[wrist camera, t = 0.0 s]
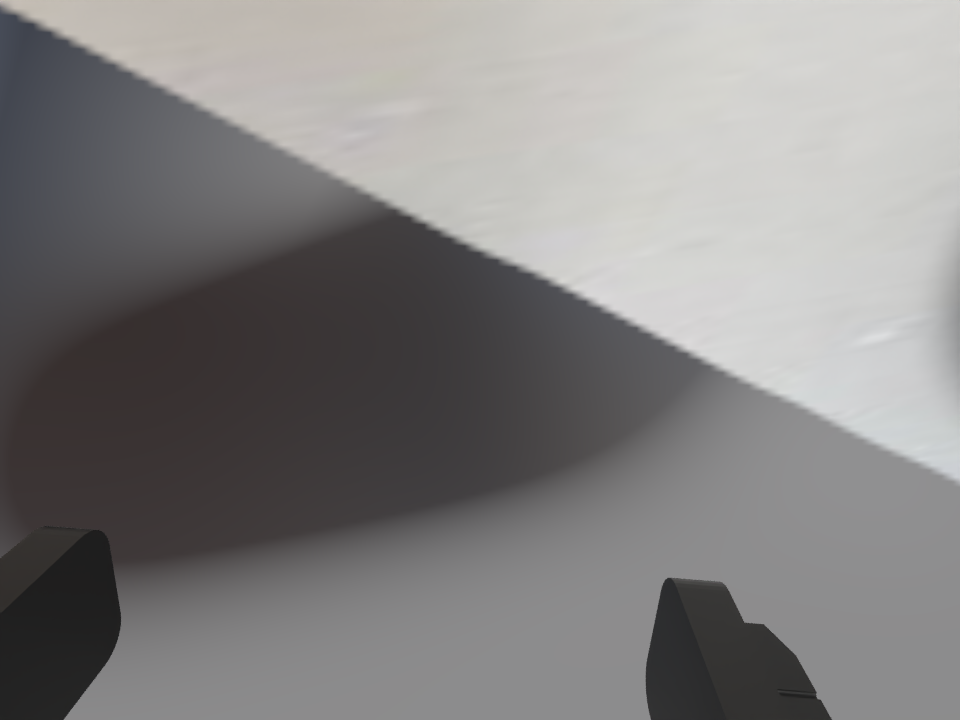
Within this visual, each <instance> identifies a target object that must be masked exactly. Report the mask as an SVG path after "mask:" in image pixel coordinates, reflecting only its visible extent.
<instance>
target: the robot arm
mask: <svg viewBox="0 0 960 720" xmlns="http://www.w3.org/2000/svg"><path fill="white" fill-rule="evenodd" d="M120 626H121V612H120V606H119V600H118V594H117V588H116V582H115V576H114V570H113V563H112V557H111V551H110V545H109V541H108V538H107V536H106V535H105V534H104V533H103V532H102V531H99V530H91V529H79V528H66V527H53V526H44V527H40V528H38V529H36V530H34V531H33V532H32V533H31V534H29V535H28V536H27V537H26V538H24V539H23V540H22V541H21V542H20V543H18V544H17V545H16V546H15V547H14V548H12V549H11V550H10V551H9V552H8V553H6V554H5V555H4V556H3V557H2V558H0V720H64V718H65V717H66V716H67V714H68V713H69V712H70V710H71V709H72V708H73V706H74V705H75V704H76V702H77V701H78V700H79V699H80V697H81V696H82V694H83V693H84V692H85V691H86V689H87V688H88V687H89V685H90V684H91V683H92V681H93V680H94V679H95V677H96V676H97V675H98V673H99V672H100V671H101V670H102V668H103V667H104V666H105V664H106V663H107V661H108V660H109V658H110V656H111V655H112V652H113V650H114V648H115V645H116V643H117V640H118V636H119V631H120ZM646 694H647V703H648V708H649V713H650V717H651V720H832V719H831V717H830V716H829V714H828V712H827V710H826V709H825V707H824V705H823V703H822V701H821V700H818V699H817V697H816V691H815V689H814V687H813V685H812V684H811V682H810V680H809V678H808V676H807V675H806V673H805V671H804V669H803V668H802V666H801V664H800V662H799V660H798V659H797V657H796V655H795V654H794V653H793V652H792V651H790V650H789V649H788V648H787V647H786V646H785V645H784V644H783V643H782V642H781V641H780V640H779V639H778V638H777V637H776V636H775V635H774V634H773V633H772V632H771V631H770V630H769V629H768V628H767V627H766V626H765V625H764V624H752V623H744V621H743V619H742V617H741V615H740V613H739V611H738V609H737V607H736V605H735V603H734V601H733V599H732V597H731V594H730V592H729V591H728V589H727V587H726V586H725V585H724V584H723V583H722V582H715V581H702V580H690V579H678V578H667V579H666V580H665V582H664V583H663V586H662V590H661V594H660V599H659V604H658V609H657V614H656V619H655V624H654V629H653V633H652V639H651V643H650V648H649V653H648V658H647V666H646Z"/></svg>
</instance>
